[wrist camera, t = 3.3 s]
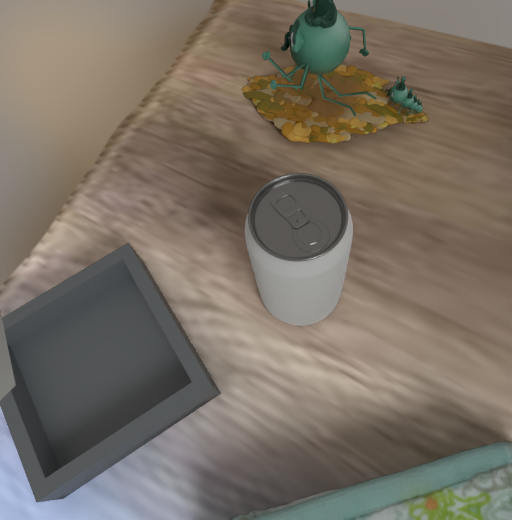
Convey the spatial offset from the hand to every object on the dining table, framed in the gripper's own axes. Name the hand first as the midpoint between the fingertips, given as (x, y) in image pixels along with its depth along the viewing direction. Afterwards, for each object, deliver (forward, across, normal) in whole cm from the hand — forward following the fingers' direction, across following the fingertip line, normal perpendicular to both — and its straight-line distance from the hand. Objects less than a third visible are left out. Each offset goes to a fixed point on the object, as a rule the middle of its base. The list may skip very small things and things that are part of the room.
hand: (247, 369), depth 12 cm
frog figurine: (+37, +1, +3) cm, 37 cm away
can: (+24, 0, -9) cm, 26 cm away
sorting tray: (+19, -14, -15) cm, 28 cm away
